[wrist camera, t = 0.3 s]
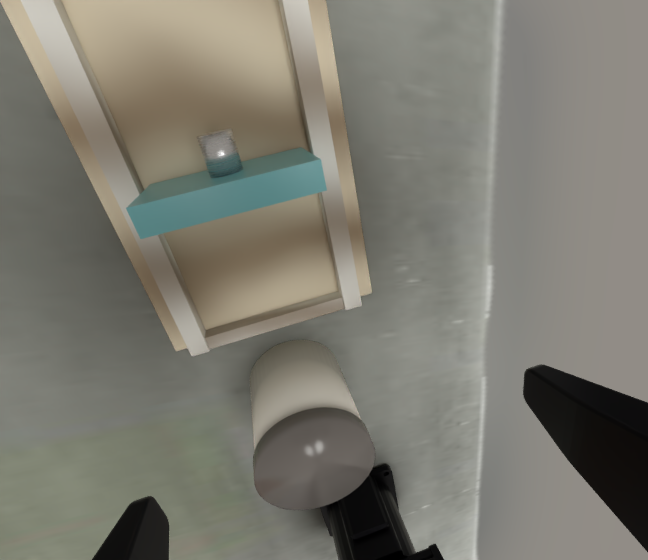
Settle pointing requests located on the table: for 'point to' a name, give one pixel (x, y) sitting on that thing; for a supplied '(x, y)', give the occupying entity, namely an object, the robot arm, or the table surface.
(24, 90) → the table surface
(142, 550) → the robot arm
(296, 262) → the lane
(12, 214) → the table surface
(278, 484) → the jar
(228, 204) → the plate
